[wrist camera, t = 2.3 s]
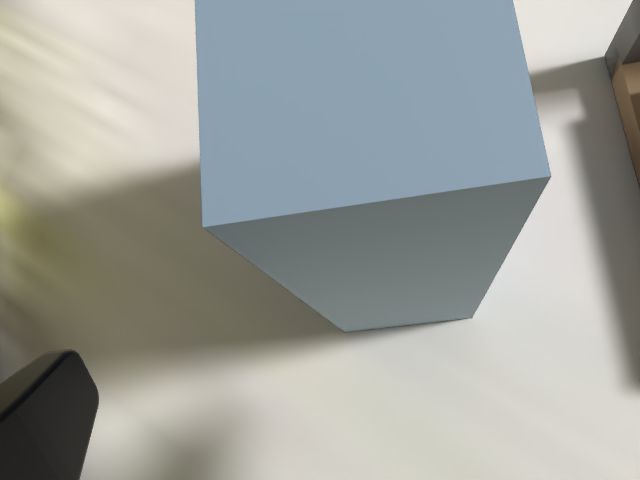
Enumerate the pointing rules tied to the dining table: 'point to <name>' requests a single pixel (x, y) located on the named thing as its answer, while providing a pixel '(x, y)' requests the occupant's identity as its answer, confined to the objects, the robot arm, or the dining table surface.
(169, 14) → the dining table surface
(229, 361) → the dining table surface
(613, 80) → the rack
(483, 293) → the blue angular block
